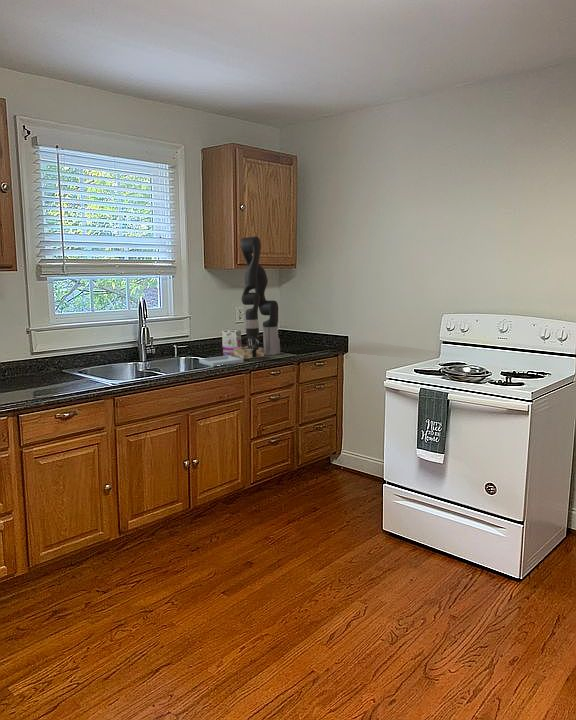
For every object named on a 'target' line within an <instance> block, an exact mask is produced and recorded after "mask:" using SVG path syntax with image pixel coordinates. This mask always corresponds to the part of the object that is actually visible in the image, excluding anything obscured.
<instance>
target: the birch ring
mask: <svg viewBox="0 0 576 720" xmlns="http://www.w3.org/2000/svg"><path fill="white" fill-rule="evenodd" d="M244 347H248V345H247V346H242V347H238V348H234V356H235V357H239V358H241V359H243V360H248V359H255V358H262V357H265V354H264V347H262V346H261V347H260V346H259V348H258V350H256V357H253V353H252V351H253V350H252V349H248V350H245V349H242V348H244Z"/></svg>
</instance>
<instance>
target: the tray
mask: <svg viewBox="0 0 576 720" xmlns="http://www.w3.org/2000/svg"><path fill="white" fill-rule="evenodd" d="M244 360H245V359H243V358H237V357H233V356H229V355H228V356H223V355H222V356H213V357H206V358H199V359H198V363H199V364H201V365H204V366H208V367H211V366H217V365H222V364H234V365H237V364H236V363H242V364H245V363H244Z"/></svg>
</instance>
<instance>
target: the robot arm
mask: <svg viewBox="0 0 576 720" xmlns="http://www.w3.org/2000/svg"><path fill="white" fill-rule="evenodd" d="M261 243H262V242H261V239H260V238H259V237H258V236H249V237H248V236H247V237H243V238H241V239H240V243H239V245H240V249H241V252H242V254H243V258H244V260H245V262H246V265H247V268H246V271H245V273H244V287H243V291H242V293H241V294H242V295H241V303H242V305H244V306H253V307H252V308H248V309H246V310H245V334H246V336H248V337H247V339H245V343H246V345H247V346H248V348H249V349H252V350H253V351H252V353H253V357H255V358H257V357H256V350H258V348H259V347H260V344H261V341H260V340H258V336H260V327H259V313H258V312H260V314H261V315H262V316H269V318H268V319H267V320H265V321H263V322H262V335H263V337H262V339H263V348H264V356H265V355H266V356H267V355H268V356H274V355H280V354H281V343H280V342H281V341H280V337H279V328H278V326H279V325H278V324H279V303H278V302H277V301H276V300H267V299H266V296H265V291H266V289H267V286H268V282H269V281H268V276H267V273H266V270H265V268H264V267H263V266H262V265H260V256H261V249H262V244H261ZM251 290H254V291H253V292H250V291H251Z"/></svg>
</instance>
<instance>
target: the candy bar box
mask: <svg viewBox="0 0 576 720" xmlns="http://www.w3.org/2000/svg"><path fill="white" fill-rule="evenodd" d="M221 341H222V343H221V345H222V356H228V355H229V356H233V357H235V356H234V348H238V347H243V346H242V331H241V330H234V329H233V330H227V329H226V330H222V331H221ZM237 358H239V357H237Z"/></svg>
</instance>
